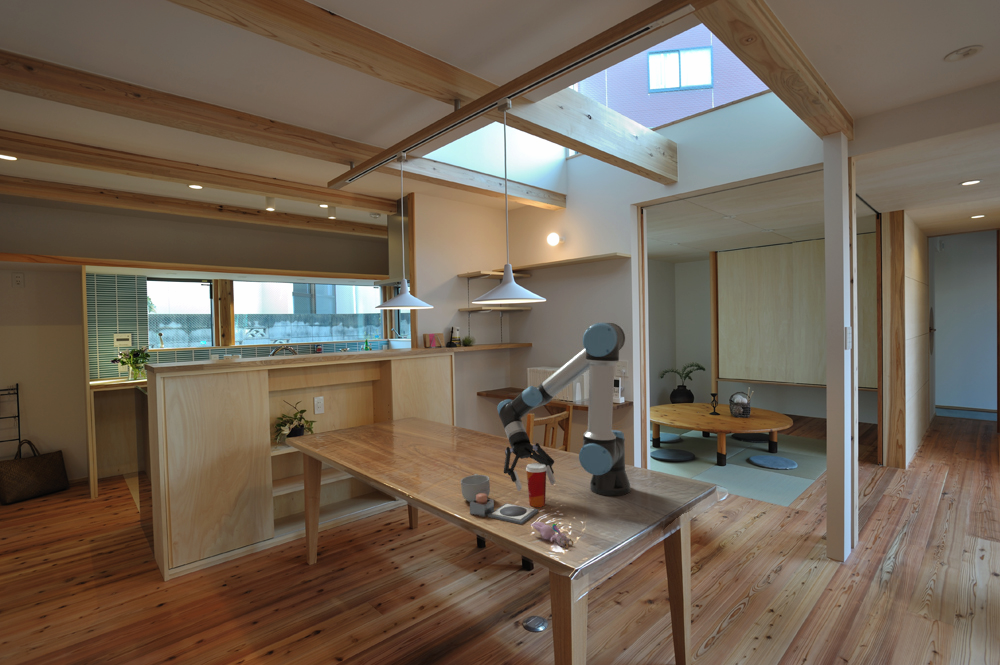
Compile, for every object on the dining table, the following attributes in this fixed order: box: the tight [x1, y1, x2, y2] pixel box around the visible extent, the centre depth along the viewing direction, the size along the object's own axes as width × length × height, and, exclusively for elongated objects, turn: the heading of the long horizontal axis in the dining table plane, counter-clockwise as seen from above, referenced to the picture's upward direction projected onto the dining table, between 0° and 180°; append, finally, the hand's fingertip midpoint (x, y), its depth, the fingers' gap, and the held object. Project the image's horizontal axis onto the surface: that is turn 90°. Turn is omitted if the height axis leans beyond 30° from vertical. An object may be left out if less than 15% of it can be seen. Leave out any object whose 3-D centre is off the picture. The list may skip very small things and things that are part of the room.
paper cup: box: [525, 462, 547, 508], centre depth 170 cm, size 8×8×14 cm
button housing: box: [469, 497, 495, 518], centre depth 164 cm, size 6×6×4 cm
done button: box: [476, 493, 488, 504], centre depth 164 cm, size 4×4×3 cm
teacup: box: [459, 473, 491, 503], centre depth 177 cm, size 14×11×8 cm
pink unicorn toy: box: [530, 521, 574, 550], centre depth 141 cm, size 6×6×15 cm
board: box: [487, 502, 539, 525], centre depth 161 cm, size 13×12×1 cm
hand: (537, 486), depth 169 cm, fingers open, 13 cm apart
